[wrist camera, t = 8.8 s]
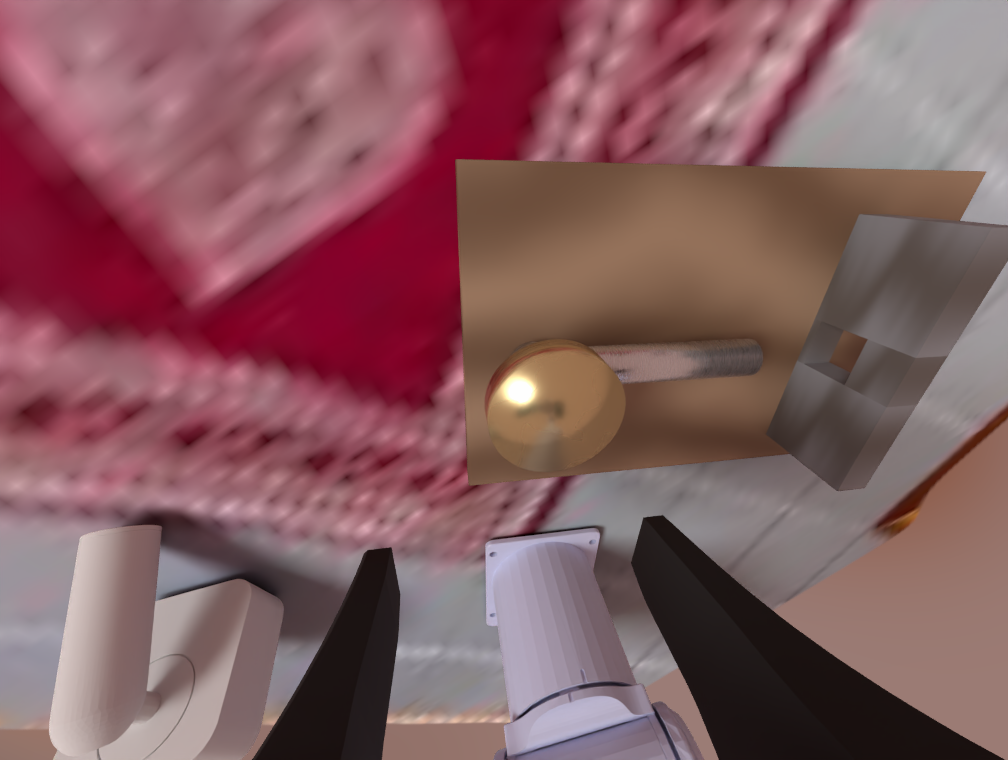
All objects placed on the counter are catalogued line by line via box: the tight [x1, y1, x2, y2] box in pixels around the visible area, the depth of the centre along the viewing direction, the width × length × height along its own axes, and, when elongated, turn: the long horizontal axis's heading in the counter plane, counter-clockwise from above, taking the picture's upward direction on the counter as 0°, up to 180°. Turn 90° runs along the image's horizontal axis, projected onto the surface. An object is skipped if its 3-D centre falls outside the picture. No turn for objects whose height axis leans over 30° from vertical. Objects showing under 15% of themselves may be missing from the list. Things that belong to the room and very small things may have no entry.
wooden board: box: [455, 159, 1008, 491], centre depth 18 cm, size 16×24×6 cm, turn 89°
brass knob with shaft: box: [484, 339, 763, 472], centre depth 16 cm, size 5×13×5 cm, turn 89°
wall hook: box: [49, 525, 284, 760], centre depth 19 cm, size 8×10×10 cm
